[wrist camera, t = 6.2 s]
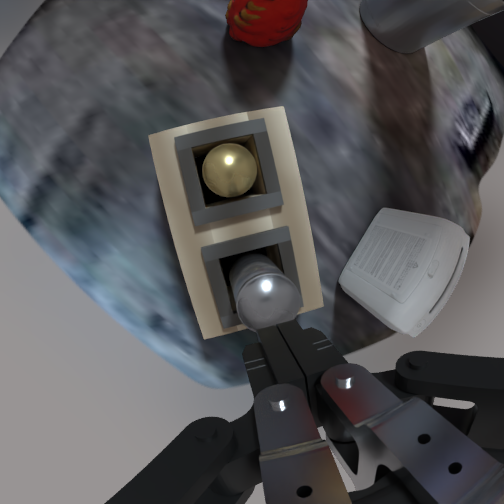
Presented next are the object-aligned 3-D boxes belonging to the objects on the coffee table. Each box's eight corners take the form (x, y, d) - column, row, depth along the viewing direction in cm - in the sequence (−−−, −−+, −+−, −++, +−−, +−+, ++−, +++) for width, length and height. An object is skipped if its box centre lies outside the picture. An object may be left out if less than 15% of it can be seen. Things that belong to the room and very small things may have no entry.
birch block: (267, 122, 26) (285, 103, 19) (301, 284, 30) (326, 308, 23) (160, 147, 25) (146, 133, 18) (204, 310, 29) (204, 343, 22)
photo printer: (358, 301, 31) (426, 354, 19) (330, 284, 30) (396, 337, 18) (404, 222, 30) (487, 242, 18) (379, 200, 29) (465, 211, 17)
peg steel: (271, 246, 22) (294, 266, 17) (281, 291, 23) (304, 323, 17) (223, 258, 22) (229, 283, 16) (235, 304, 23) (245, 340, 17)
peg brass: (240, 149, 25) (250, 138, 19) (249, 190, 26) (262, 190, 20) (199, 159, 25) (196, 150, 19) (208, 200, 26) (209, 202, 20)
